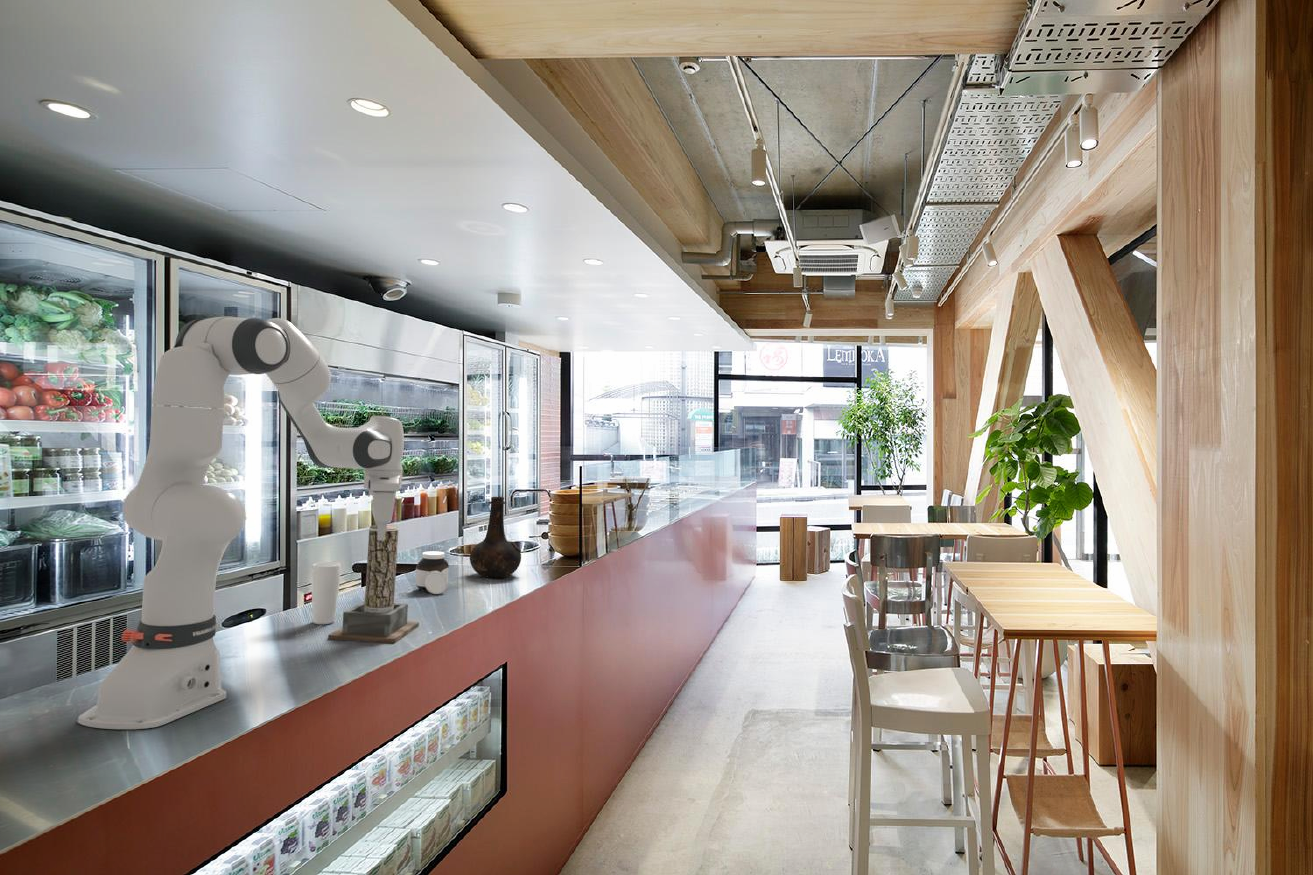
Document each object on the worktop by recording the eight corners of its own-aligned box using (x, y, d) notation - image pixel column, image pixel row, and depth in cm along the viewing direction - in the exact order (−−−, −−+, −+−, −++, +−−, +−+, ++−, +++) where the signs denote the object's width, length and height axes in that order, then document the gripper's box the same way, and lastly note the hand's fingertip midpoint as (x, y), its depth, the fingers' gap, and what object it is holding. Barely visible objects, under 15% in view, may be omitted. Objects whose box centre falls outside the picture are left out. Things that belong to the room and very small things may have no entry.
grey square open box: (394, 643, 172) (396, 617, 172) (328, 639, 173) (329, 613, 173) (418, 625, 188) (420, 602, 188) (357, 622, 189) (358, 599, 189)
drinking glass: (343, 621, 189) (346, 563, 189) (322, 627, 182) (325, 567, 182) (325, 617, 191) (328, 560, 191) (303, 623, 185) (306, 564, 185)
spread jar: (433, 585, 237) (435, 549, 237) (460, 590, 232) (462, 553, 232) (406, 591, 227) (408, 554, 227) (433, 596, 222) (435, 558, 222)
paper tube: (382, 632, 177) (389, 530, 177) (357, 629, 178) (363, 527, 178) (397, 626, 183) (403, 527, 183) (373, 623, 184) (379, 524, 185)
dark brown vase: (515, 581, 249) (519, 500, 249) (463, 579, 249) (467, 497, 249) (524, 572, 267) (528, 496, 267) (475, 569, 267) (479, 493, 267)
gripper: (368, 478, 189) (365, 531, 189) (370, 484, 170) (367, 543, 170) (393, 478, 191) (391, 531, 191) (399, 484, 172) (396, 543, 172)
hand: (380, 537), depth 180 cm, fingers open, 8 cm apart
